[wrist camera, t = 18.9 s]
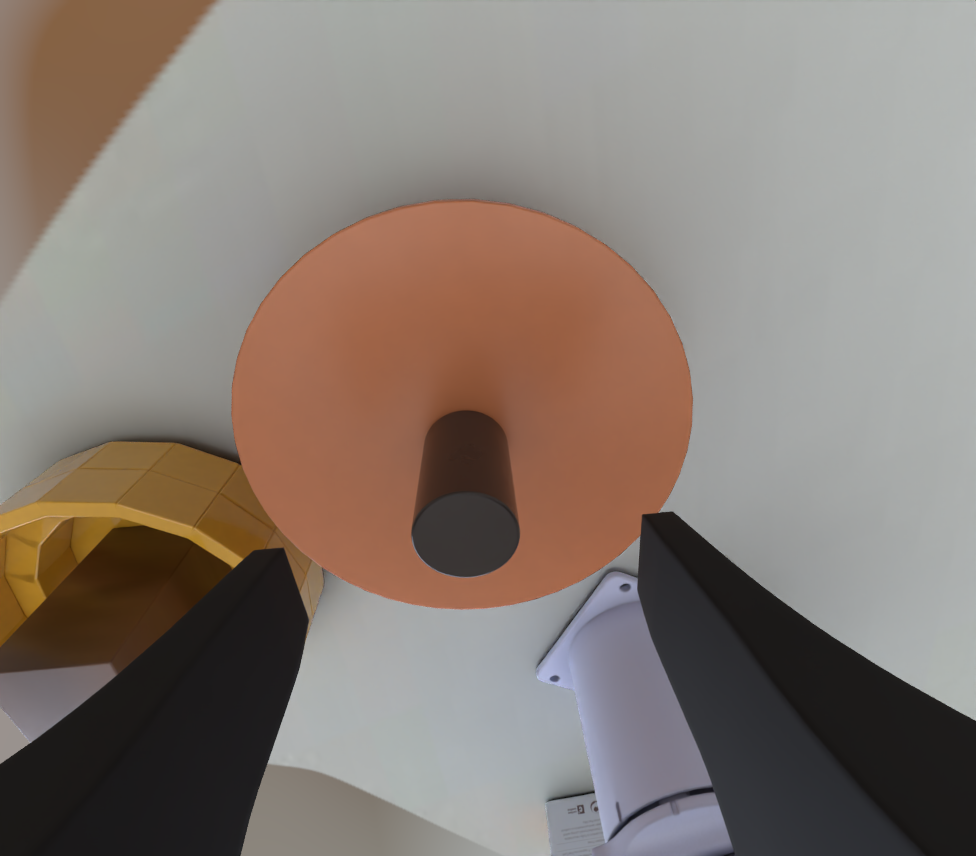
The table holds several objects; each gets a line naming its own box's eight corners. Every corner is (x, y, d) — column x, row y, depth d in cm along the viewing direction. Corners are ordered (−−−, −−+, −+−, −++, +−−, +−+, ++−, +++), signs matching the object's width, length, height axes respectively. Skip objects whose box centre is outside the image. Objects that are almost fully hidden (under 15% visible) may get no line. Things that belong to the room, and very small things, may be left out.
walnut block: (211, 518, 22) (109, 662, 16) (242, 591, 24) (162, 745, 18) (112, 527, 22) (-28, 675, 16) (151, 600, 24) (40, 756, 18)
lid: (770, 325, 15) (904, 401, 10) (552, 625, 20) (577, 763, 15) (319, 93, 12) (226, 55, 7) (205, 518, 17) (111, 648, 13)
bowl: (361, 496, 22) (337, 571, 18) (286, 672, 27) (255, 761, 23) (47, 388, 19) (-61, 449, 15) (28, 606, 24) (-58, 694, 20)
